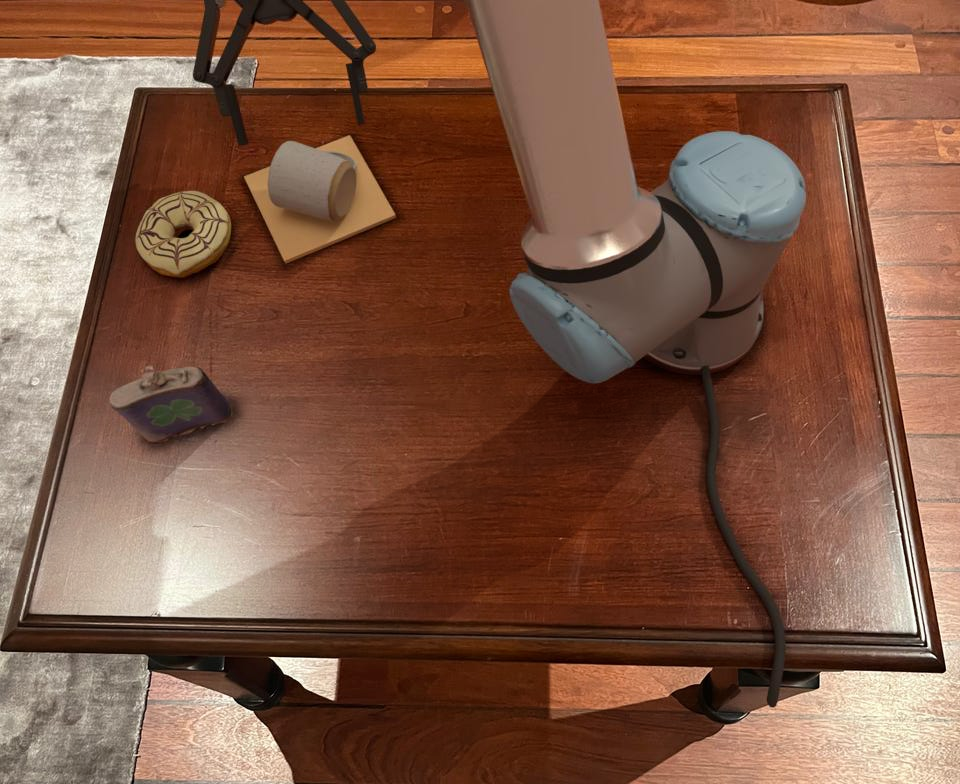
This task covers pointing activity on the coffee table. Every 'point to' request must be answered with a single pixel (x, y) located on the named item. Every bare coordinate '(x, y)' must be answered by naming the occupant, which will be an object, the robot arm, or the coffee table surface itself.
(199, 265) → the decorated donut
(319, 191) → the ceramic mug
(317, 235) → the cork mat
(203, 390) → the flask
